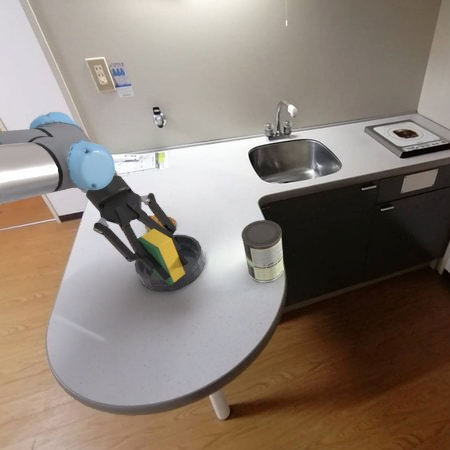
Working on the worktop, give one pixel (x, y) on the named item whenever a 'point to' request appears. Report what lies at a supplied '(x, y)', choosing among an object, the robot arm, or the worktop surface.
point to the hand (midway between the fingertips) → (176, 271)
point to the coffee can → (263, 250)
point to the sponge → (163, 254)
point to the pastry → (159, 221)
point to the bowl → (192, 269)
